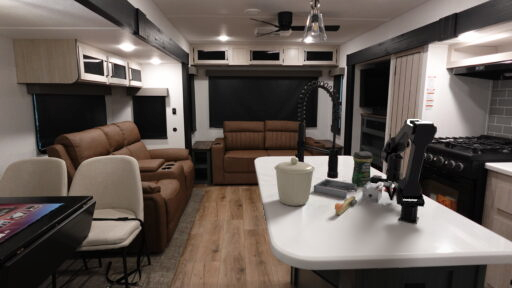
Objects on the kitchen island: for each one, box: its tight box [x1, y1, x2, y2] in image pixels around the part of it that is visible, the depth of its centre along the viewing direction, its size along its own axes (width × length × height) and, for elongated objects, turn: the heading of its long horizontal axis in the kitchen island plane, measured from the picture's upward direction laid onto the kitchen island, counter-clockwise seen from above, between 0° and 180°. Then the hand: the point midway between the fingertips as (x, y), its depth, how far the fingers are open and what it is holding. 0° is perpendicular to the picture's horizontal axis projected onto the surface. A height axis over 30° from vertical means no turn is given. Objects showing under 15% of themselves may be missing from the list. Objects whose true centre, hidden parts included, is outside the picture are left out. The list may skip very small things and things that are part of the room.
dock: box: [313, 178, 358, 207], centre depth 142 cm, size 23×23×4 cm
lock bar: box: [334, 195, 356, 216], centre depth 124 cm, size 20×2×4 cm, turn 144°
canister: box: [273, 156, 315, 207], centre depth 130 cm, size 18×18×21 cm
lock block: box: [362, 182, 383, 204], centre depth 135 cm, size 10×7×7 cm
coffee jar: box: [351, 151, 373, 187], centre depth 157 cm, size 10×8×19 cm
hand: (391, 200), depth 131 cm, fingers closed
